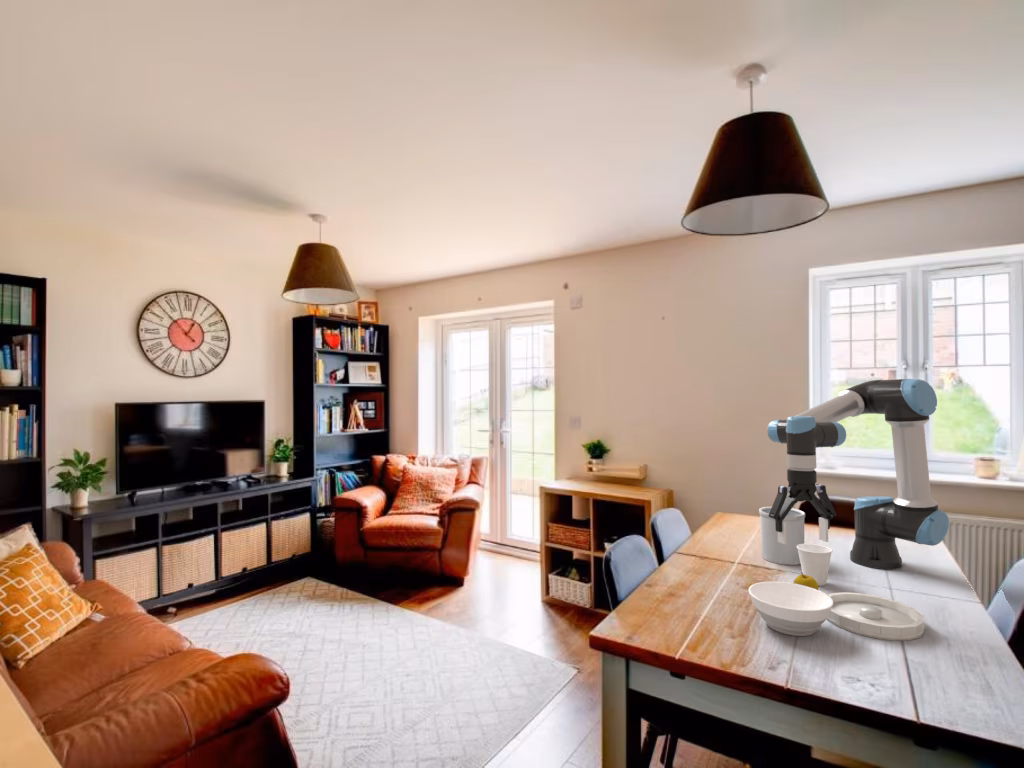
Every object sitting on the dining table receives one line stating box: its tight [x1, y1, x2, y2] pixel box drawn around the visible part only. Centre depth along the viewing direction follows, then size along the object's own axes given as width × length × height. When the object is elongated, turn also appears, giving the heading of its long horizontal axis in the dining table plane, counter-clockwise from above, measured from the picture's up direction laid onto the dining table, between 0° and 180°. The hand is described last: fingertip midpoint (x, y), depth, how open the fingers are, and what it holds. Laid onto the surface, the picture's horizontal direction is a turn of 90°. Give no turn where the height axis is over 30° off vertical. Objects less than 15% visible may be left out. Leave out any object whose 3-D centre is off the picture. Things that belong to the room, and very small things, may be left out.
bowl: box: [748, 581, 833, 637], centre depth 134 cm, size 19×20×8 cm
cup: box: [797, 543, 833, 587], centre depth 165 cm, size 10×10×11 cm
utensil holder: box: [758, 506, 806, 566], centre depth 189 cm, size 15×15×18 cm
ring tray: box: [825, 591, 926, 642], centre depth 137 cm, size 22×22×3 cm
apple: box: [792, 571, 819, 590], centre depth 151 cm, size 6×6×8 cm
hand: (803, 541), depth 152 cm, fingers open, 13 cm apart
